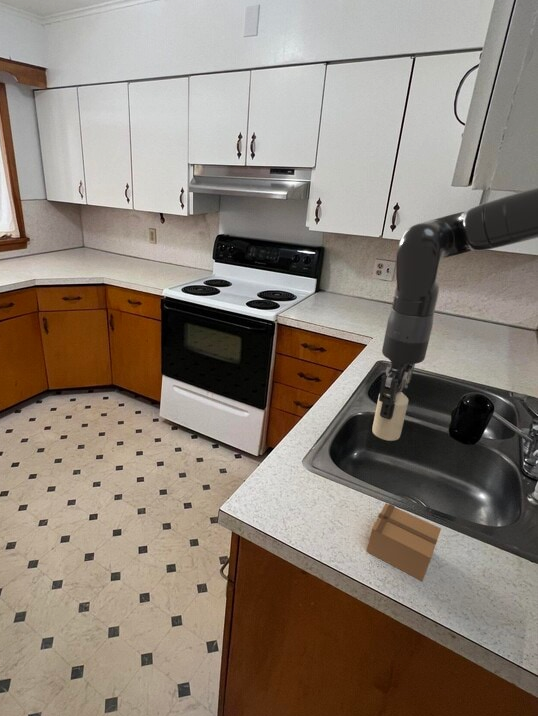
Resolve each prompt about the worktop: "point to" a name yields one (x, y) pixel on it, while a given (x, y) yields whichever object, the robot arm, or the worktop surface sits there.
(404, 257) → the robot arm
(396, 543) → the cardboard box
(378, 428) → the candle
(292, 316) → the worktop surface
